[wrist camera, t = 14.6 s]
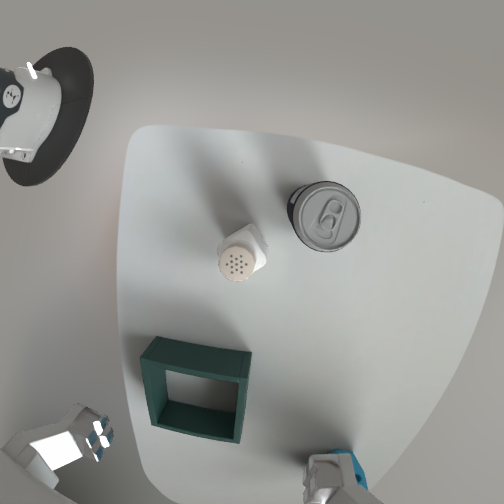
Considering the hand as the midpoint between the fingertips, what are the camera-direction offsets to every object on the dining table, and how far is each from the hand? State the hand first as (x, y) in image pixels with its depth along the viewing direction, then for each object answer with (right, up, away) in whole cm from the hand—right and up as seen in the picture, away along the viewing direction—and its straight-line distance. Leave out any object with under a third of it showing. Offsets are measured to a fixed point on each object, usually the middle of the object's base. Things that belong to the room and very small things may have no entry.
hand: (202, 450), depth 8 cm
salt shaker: (+1, +9, +25) cm, 26 cm away
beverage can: (+9, +13, +23) cm, 28 cm away
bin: (-6, -12, +30) cm, 33 cm away
